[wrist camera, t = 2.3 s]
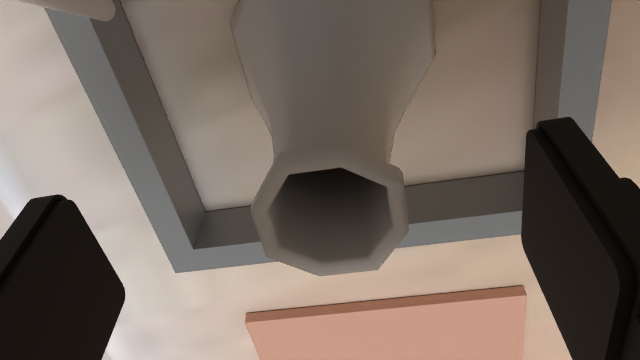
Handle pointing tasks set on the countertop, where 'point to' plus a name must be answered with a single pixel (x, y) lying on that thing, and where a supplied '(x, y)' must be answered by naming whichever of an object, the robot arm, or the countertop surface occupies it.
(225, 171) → the countertop surface
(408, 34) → the flask
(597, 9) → the case
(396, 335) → the plate
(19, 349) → the robot arm
